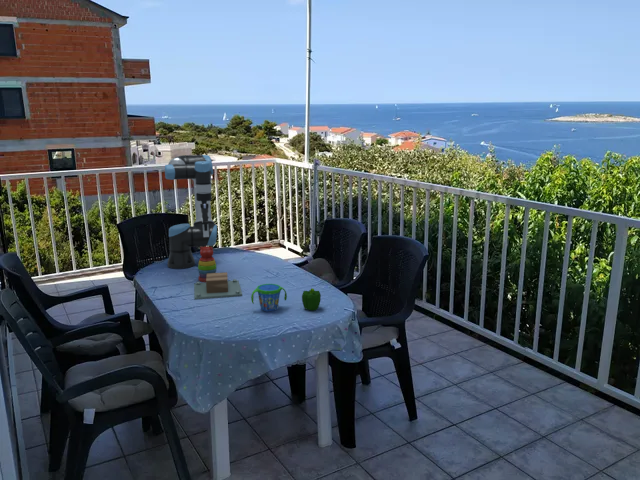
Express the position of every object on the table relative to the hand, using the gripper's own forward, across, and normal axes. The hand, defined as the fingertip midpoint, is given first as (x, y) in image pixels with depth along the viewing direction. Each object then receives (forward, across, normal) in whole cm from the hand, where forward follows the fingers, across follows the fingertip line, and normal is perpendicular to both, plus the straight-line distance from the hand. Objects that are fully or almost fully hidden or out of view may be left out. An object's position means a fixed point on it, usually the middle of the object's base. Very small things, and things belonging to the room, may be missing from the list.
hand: (205, 234), depth 265 cm
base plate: (+24, +19, +4) cm, 31 cm away
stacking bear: (+24, 0, 0) cm, 24 cm away
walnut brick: (+23, +19, +4) cm, 30 cm away
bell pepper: (+25, +54, +43) cm, 73 cm away
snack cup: (+25, +50, +25) cm, 61 cm away
